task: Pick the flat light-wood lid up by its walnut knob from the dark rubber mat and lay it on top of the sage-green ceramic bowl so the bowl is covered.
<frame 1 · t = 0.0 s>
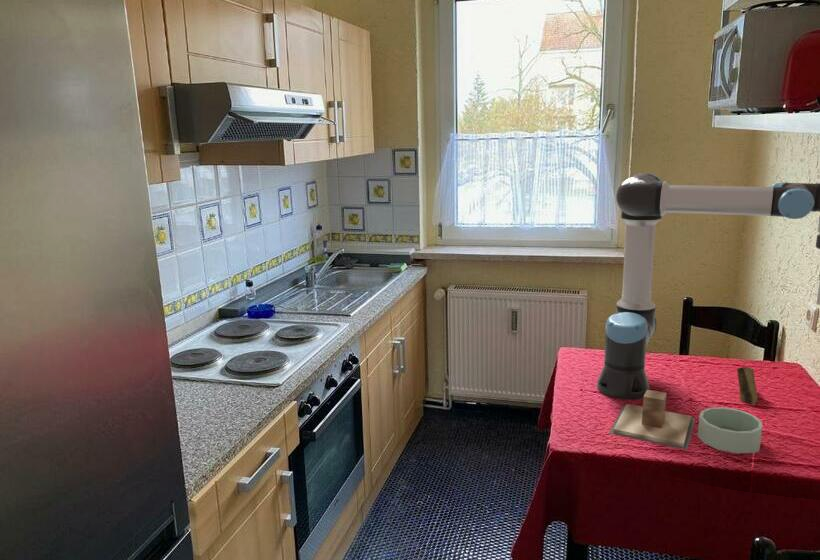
bowl: (728, 441, 157), on the table
mat: (652, 427, 165), on the table
lid: (652, 425, 165), point 1 cm above the table, touching mat
rock: (750, 397, 182), on the table
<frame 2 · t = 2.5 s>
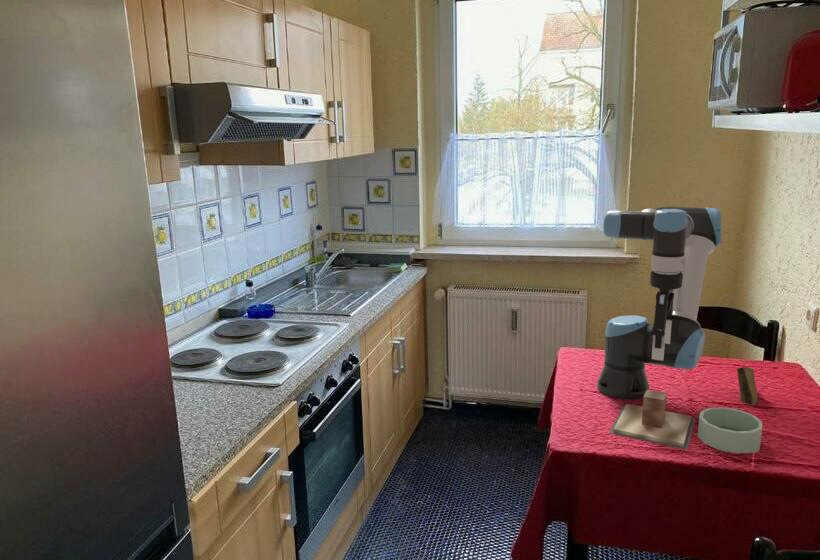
hand: (661, 351, 160), 22 cm above the table, fingers open, 13 cm apart
nothing on the table moved.
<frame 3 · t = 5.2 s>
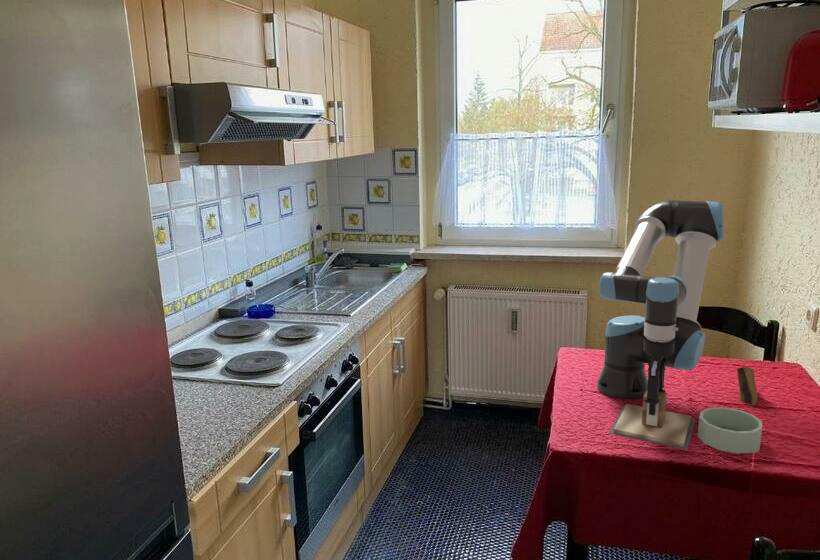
hand: (653, 420, 164), 2 cm above the table, fingers closed on lid, 5 cm apart
lid: (653, 425, 165), point 1 cm above the table, touching gripper, mat
everything else where it was.
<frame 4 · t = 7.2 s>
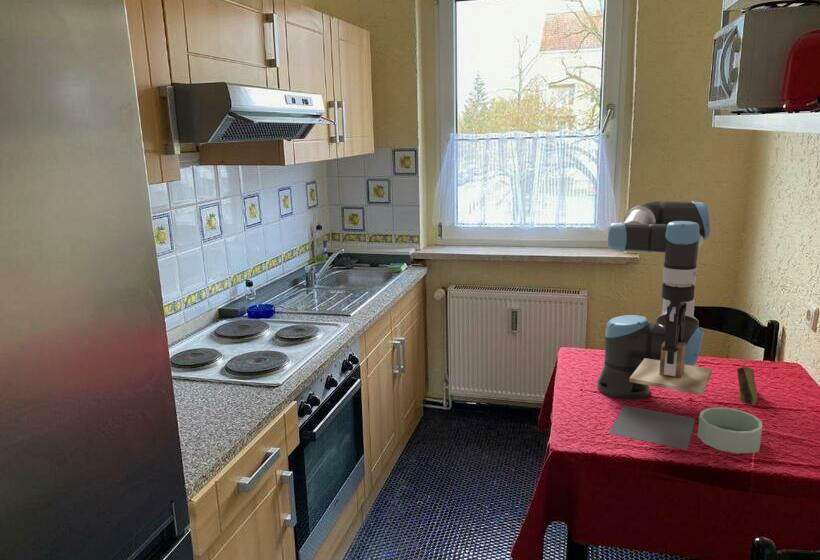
hand: (671, 371, 159), 17 cm above the table, fingers closed on lid, 5 cm apart
lid: (671, 377, 159), point 15 cm above the table, touching gripper
everything else where it was.
when the fingers open (9 cm above the table, at t = 9.7 s): lid drops 2 cm, resting on bowl.
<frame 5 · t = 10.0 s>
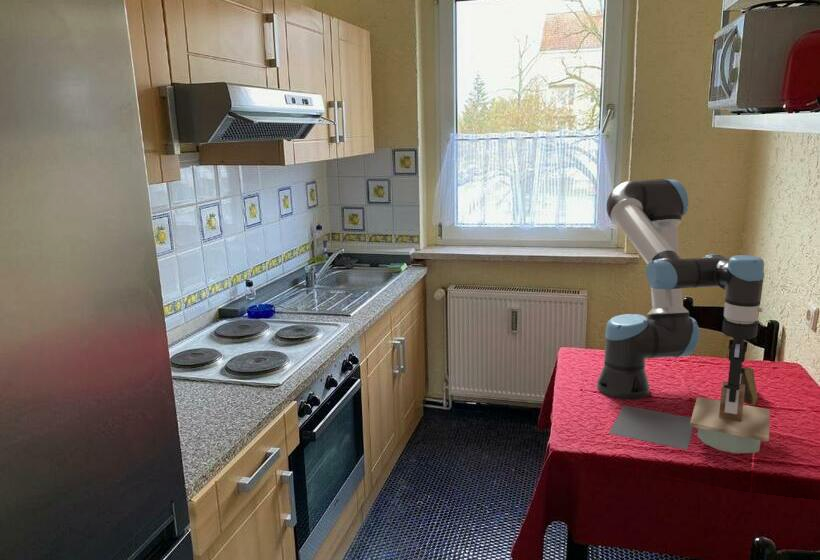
hand: (731, 404, 154), 10 cm above the table, fingers open, 9 cm apart
lid: (730, 419, 155), point 6 cm above the table, touching bowl
everything else where it was.
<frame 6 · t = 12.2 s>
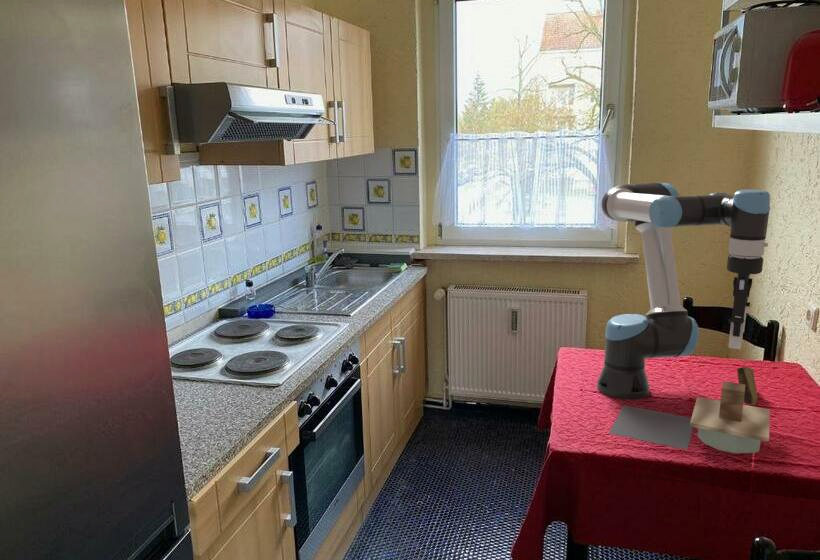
hand: (736, 339, 152), 27 cm above the table, fingers open, 13 cm apart
nothing on the table moved.
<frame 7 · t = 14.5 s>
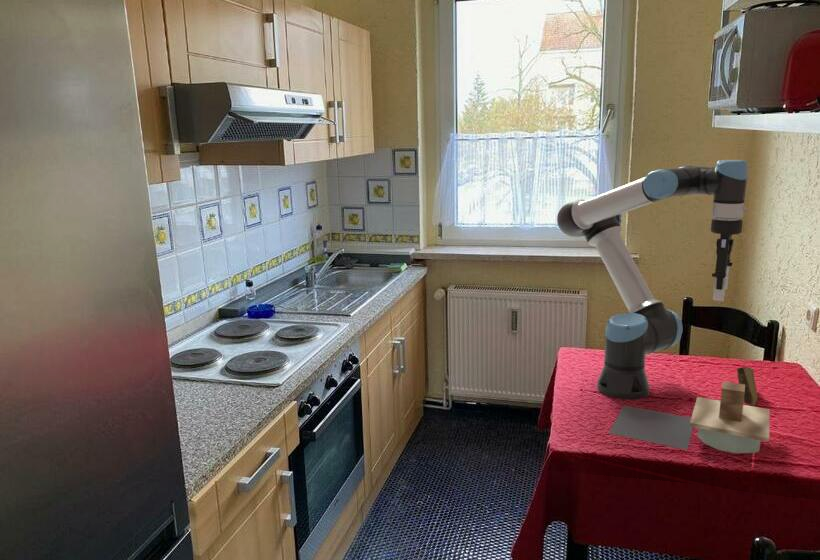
hand: (720, 294, 170), 33 cm above the table, fingers open, 13 cm apart
nothing on the table moved.
at the end: lid 0.0 cm off-centre on the bowl, point 6.0 cm above the bowl's base; lid tilted 0°; the gripper is holding nothing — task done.
